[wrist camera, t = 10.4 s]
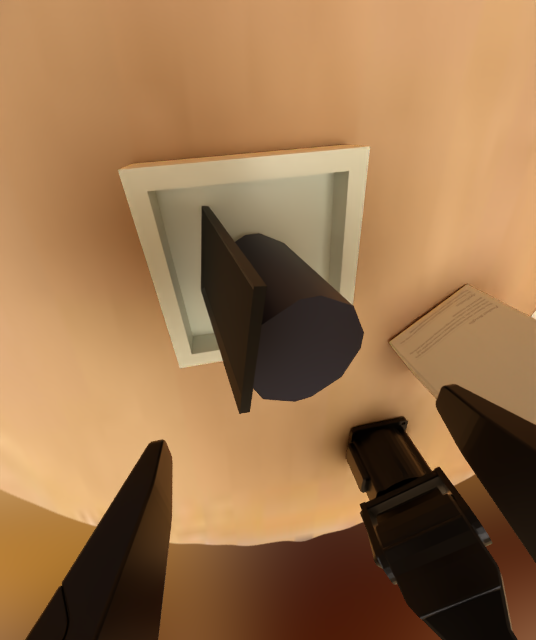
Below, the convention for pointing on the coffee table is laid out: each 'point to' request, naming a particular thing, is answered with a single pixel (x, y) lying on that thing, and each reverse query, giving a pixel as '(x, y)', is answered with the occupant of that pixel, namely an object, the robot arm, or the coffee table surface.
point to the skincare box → (475, 350)
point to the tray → (244, 222)
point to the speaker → (273, 317)
